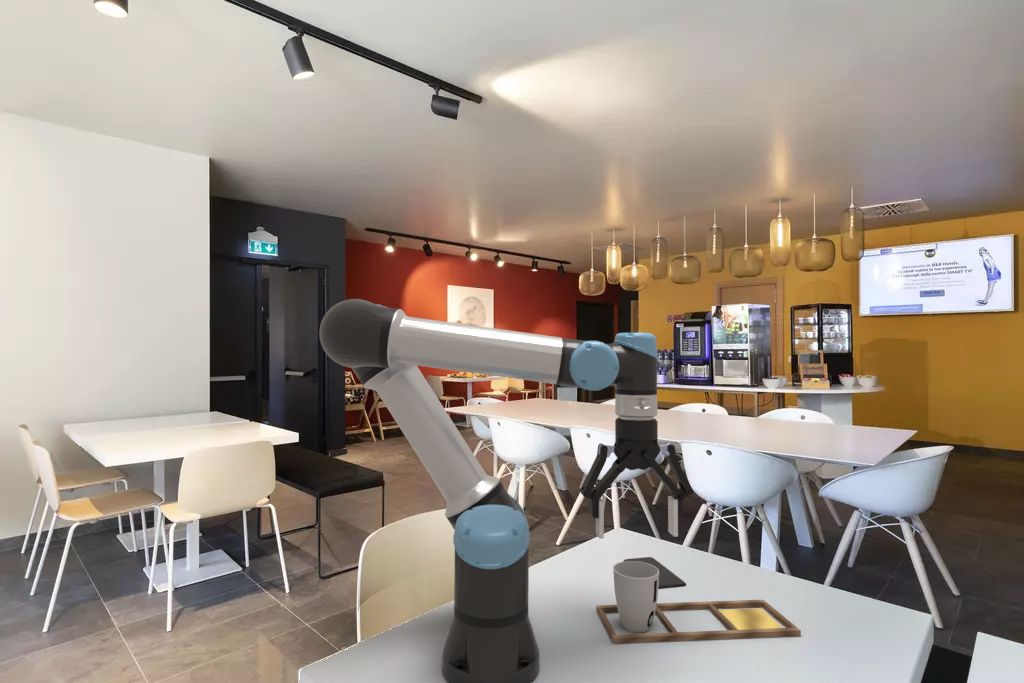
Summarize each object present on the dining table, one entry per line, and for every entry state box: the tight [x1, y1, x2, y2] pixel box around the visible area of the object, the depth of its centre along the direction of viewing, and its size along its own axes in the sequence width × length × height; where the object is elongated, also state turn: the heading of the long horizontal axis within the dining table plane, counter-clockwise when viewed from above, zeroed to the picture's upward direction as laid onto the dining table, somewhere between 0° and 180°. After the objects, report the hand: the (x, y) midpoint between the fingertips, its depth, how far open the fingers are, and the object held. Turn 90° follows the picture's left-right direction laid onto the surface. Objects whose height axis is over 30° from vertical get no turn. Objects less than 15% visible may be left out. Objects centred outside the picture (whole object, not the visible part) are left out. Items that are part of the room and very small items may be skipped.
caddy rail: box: [595, 599, 802, 645], centre depth 100 cm, size 33×12×1 cm, turn 95°
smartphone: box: [622, 556, 687, 590], centre depth 123 cm, size 8×1×16 cm
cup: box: [612, 560, 659, 633], centre depth 99 cm, size 8×8×10 cm
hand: (636, 535), depth 99 cm, fingers open, 13 cm apart
